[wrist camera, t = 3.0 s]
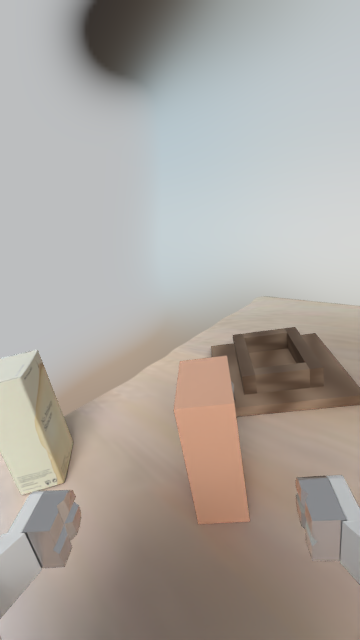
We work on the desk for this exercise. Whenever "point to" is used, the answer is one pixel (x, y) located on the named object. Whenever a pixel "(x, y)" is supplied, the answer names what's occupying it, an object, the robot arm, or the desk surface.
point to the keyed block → (211, 440)
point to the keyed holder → (285, 373)
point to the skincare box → (32, 424)
